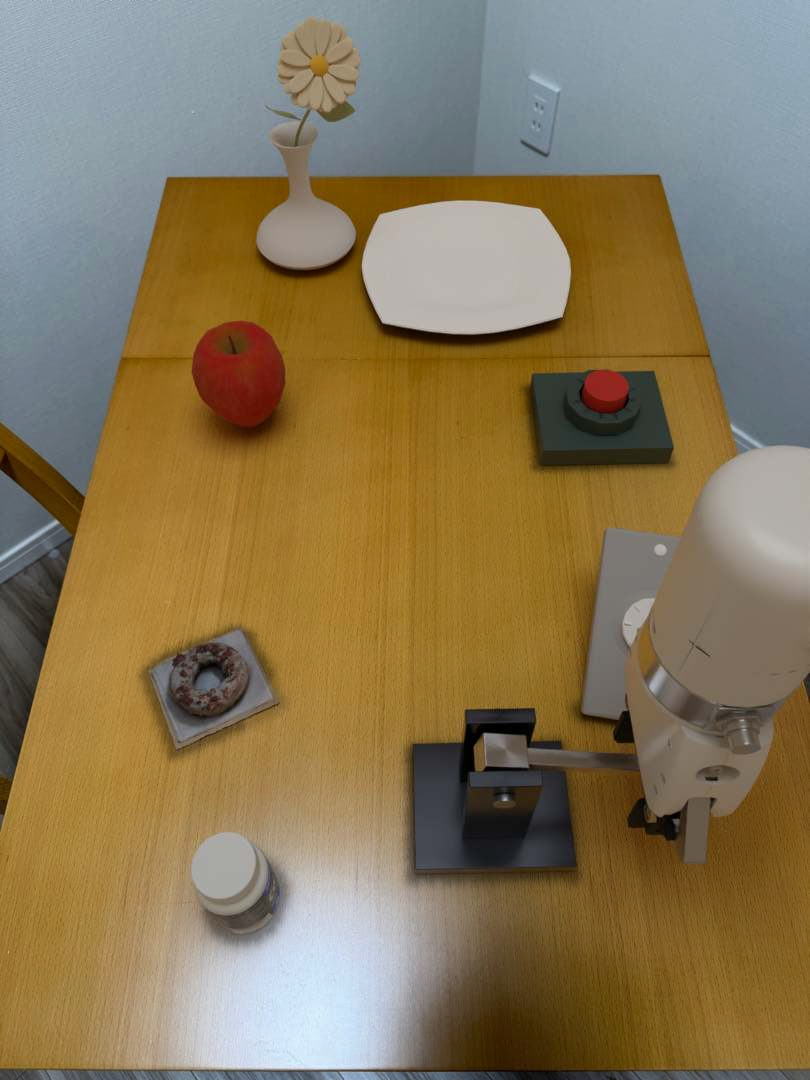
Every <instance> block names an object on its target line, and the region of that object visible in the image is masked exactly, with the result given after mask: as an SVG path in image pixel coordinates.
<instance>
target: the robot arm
mask: <svg viewBox="0 0 810 1080" xmlns="http://www.w3.org/2000/svg"><path fill="white" fill-rule="evenodd" d="M680 537H681V538H680V540H679V542H678V545H677V547H676V550H675V552H674V554H673V557H672V559H671V562H670V564H669V566H668V569H667V571H666V574H665V576H664V579H663V581H662V583H661V586H660V588H659V591H658V593H657V595H656V598H655V600H654V603H653V605H652V607H651V610H650V612H649V615H648V617H647V618H646V620H645V621H644V622H643V624H642V626H641V628H638V629H637V635H636V637H635V638H634V641H633V643H632V645H631V647H630V650H629V652H628V655H627V658H626V662H625V668H624V674H625V685H626V693H625V706H626V709H627V711H622V713H621V715H620V717H619V720H617V722H616V724H615V726H614V729H613V731H612V737H613V740H614V742H615V744H634V746H635V745H636V748H635V752H636V751H637V756H638V762H639V767H640V773H641V776H640V779H641V778H642V782H641V784H642V783H643V787H642V789H643V788H644V793H645V797H646V798H644V797H641V798H638V799H637V800H636V802H635V804H634V805H633V807H632V808H631V810H630V811H629V814H628V815H627V817H626V822H627V828H629V829H644V833H645V835H648V836H663V837H664V839H665V840H666V842H670V841H671V842H673V843H672V848H673V850H674V852H675V854H676V856H677V858H678V860H679V863H680V864H681V865H682V866H688V865H706V863H707V862H706V861H707V849H708V837H709V825H710V813H711V815H712V817H713V818H722V817H727V816H730V815H732V814H733V813H734V812H735V811H736V810H737V809H738V807H740V805H741V804H742V802H743V801H744V800H745V798H746V797H747V796H748V794H749V793H750V791H751V789H752V788H753V787H754V785H755V783H756V781H757V780H758V778H759V775H760V774H761V773H762V770H763V767H764V765H765V764H766V761H767V758H768V755H769V753H770V750H771V747H772V743H773V740H774V736H775V729H774V726H775V725H774V717H775V716H776V714H777V713H778V712H779V711H780V710H781V708H782V707H783V706H784V704H785V703H786V702H787V701H788V700H789V698H790V697H791V696H792V695H793V694H794V693H795V691H796V690H797V689H798V688H799V687H800V685H801V683H803V682H804V680H806V678H807V676H808V675H809V674H810V448H809V447H803V446H798V445H785V444H782V445H781V444H779V445H768V446H763V447H758V448H753V449H750V450H747V451H744V452H742V453H740V454H739V453H738V454H737V455H735V456H734V457H731V458H730V459H729V460H727V461H726V462H724V463H723V464H721V465H720V466H719V467H718V468H717V469H716V470H715V471H714V472H713V473H711V475H710V477H709V478H708V479H707V481H706V482H705V483H704V484H703V487H702V488H701V490H700V492H699V494H698V496H697V498H696V499H695V502H694V504H693V506H692V509H691V511H690V514H689V516H688V519H687V521H686V523H685V526H684V528H683V530H682V533H681V535H680ZM633 734H634V737H633ZM634 740H635V742H634ZM644 793H643V794H644Z"/></svg>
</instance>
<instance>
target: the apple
mask: <svg viewBox="0 0 810 1080" xmlns="http://www.w3.org/2000/svg"><path fill="white" fill-rule="evenodd" d="M194 349H195V350H194V351H193V357H192V364H191V371H190V372H191V376H192V379H193V382H194V386H195V388H196V391H197V394H198V396H199V397H200V399H201V400H202V402H203V403H204V404H205V405H207V406H208V407H209V408H210V409H211V410H212V411H213V412H215V414H217V415H218V416H219V417H220V418H221V419H223V420H225V421H227V422H229V423H231V424H234V425H235V426H236V425H237V426H239V427H242V428H247V429H248V428H249V429H252V428H255V427H258V426H259V425H261V424H262V423H264V421H265V420H266V419H267V418H269V417H270V415H271V414H272V413H273V412H274V410H275V409H276V407H277V406H278V405H279V403H280V402H281V400H282V396H283V392H284V389H285V387H286V365H285V361H284V358H283V355H282V353H281V351H280V349H279V347H278V346H277V344H276V342H275V340H274V338H273V336H272V335H271V334H270V333H269V332H268V331H267V330H266V329H264V327H262V326H260V325H259V324H257V323H255V322H253V321H247V320H233V321H226V322H223V323H222V324H219V325H217V326H214V327H212V328H210V329H208V330H206V332H205V333H204V334H203V336H202V337H201V338H200V339H199V340H198V343H197V344H196V347H195V348H194Z"/></svg>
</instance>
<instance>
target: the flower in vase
mask: <svg viewBox="0 0 810 1080" xmlns="http://www.w3.org/2000/svg"><path fill="white" fill-rule="evenodd" d="M347 35H348V30H347V28H346V27H345V26H342V25H341V24H340V23H339V22H333V21H331V20H329V19H328V18H323V19H320V18H317V17H314V16H308V17H307V18H306V20H305V21H301V22H300V23H299V24H296V26H295V27H294V30H290V31H288V32H287V34H286V35H283V36H282V38H281V44H280V45H279V50H280V53H279V57H278V58H277V64H278V66H277V68H276V69H277V73H278V74H277V82H279V83H280V84H281V85H283V91H284V92H285V93H286V94H288V95H291V96H290V102H291V103H292V104H293V105H295V106H298V107H300V108H302V109H304V108H305V109H306V111H305V113H304V115H303V117H302V119H300V118H298V117H297V116H296V115H294V114H293V113H290V112H287V111H283V110H277V109H272V108H271V107H269V106H268V105H266V104H264V106H265V108H267V109H268V110H269V111H271V112H273V113H274V114H276V115H278V116H281V117H284V118H288V119H292V120H295V121H287V122H283V123H280V124H278V125H276V126H274V127H273V128H272V129H271V130H270V131H269V134H268V139H269V141H270V143H272V145H273V146H275V148H276V149H277V150H278V151H279V153H280V155H281V157H282V160H283V162H284V166H285V169H286V172H287V178H288V186H289V195H288V198H287V199H286V200H285V201H284V202H282V203H280V204H279V205H278V206H276V207H275V208H274V209H272V210H271V211H270V212H269V213H268V214H267V215H266V216H265V217H264V218H263V219H262V221H261V222H260V224H259V225H258V229H257V232H256V236H255V237H256V238H255V241H256V246H257V249H258V251H259V252H260V253H261V254H262V255H263V256H264V257H265V258H266V259H267V260H268V261H270V262H271V263H272V264H274V265H276V266H278V267H281V268H284V269H288V270H294V271H311V270H318V269H322V268H326V267H328V266H331V265H334V264H335V263H337V262H339V261H340V260H342V259H343V258H344V257H345V256H347V254H348V253H349V252H350V250H351V249H352V248H353V246H354V244H355V241H356V238H357V232H356V231H357V230H356V227H355V226H354V223H353V221H352V220H351V218H350V217H349V215H348V214H347V213H346V212H345V211H343V210H342V209H340V208H339V207H337V206H336V205H334V204H333V203H330V202H328V201H325V200H323V199H320V198H319V197H316V196H315V195H314V193H313V191H312V187H311V181H310V156H311V155H310V154H311V151H312V147H313V145H314V143H315V142H316V140H317V138H318V135H319V131H318V129H317V128H316V127H315V126H313V125H312V124H311V123H308V122H306V120H307V119H308V117H309V115H310V113H311V111H312V110H313V111H316V113H317V114H318V115H319V116H320V117H321V118H322V119H323V120H325V121H326V122H329V123H335V122H338V121H342V120H344V119H346V118H348V117H349V116H351V115H353V114H354V113H355V112H356V109H355V108H354V107H353V106H352V104H351V103H349V102H348V101H347V99H348V98H349V97H350V96H352V95H353V96H354V94H355V93H356V86H357V80H359V78H360V72H359V71H360V70H359V66H360V65H361V58H360V53H361V52H360V51H359V49H357V48H355V47H354V40H353V39H352V38H351V37H350V36H347Z"/></svg>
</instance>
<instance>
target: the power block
mask: <svg viewBox="0 0 810 1080" xmlns="http://www.w3.org/2000/svg"><path fill="white" fill-rule="evenodd" d="M598 370H599V369H588V370H585V371H581V372H580V371H579V372H533V373H532V374H531V380H530V385H529V392H530V400H531V406H532V415H533V421H534V422H533V423H534V429H535V436H536V443H537V451H538V456H539V465H540V466H580V465H581V466H583V465H584V466H585V465H625V464H626V465H630V464H632V465H633V464H668V463H670V460H671V457H672V455H673V452H674V449H675V445H674V442H673V438H672V434H671V430H670V425H669V422H668V419H667V415H666V411H665V407H664V402H663V400H662V394H661V391H660V388H659V383H658V379H657V376H656V372H655V370H628V371H627V370H625V371H624V370H623V371H616V372H617V373H619V374H620V375H622V376H623V377H624V378H625V379H626V381H627V382H628V386H629V389H628V393H627V397H626V400H625V404H624V406H623V407H622V408H621V409H620V410H619V411H617V412H615V413H610V414H601V413H598V412H595V411H593V410H590V409H589V408H588V407H587V406H586V405H585V404H584V402H583V400H582V392H583V388H584V383H585V380H586V378H587V376H588V375H589V374H591V373H593V372H595V371H598ZM606 370H610V371H612V370H611V369H606Z"/></svg>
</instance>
